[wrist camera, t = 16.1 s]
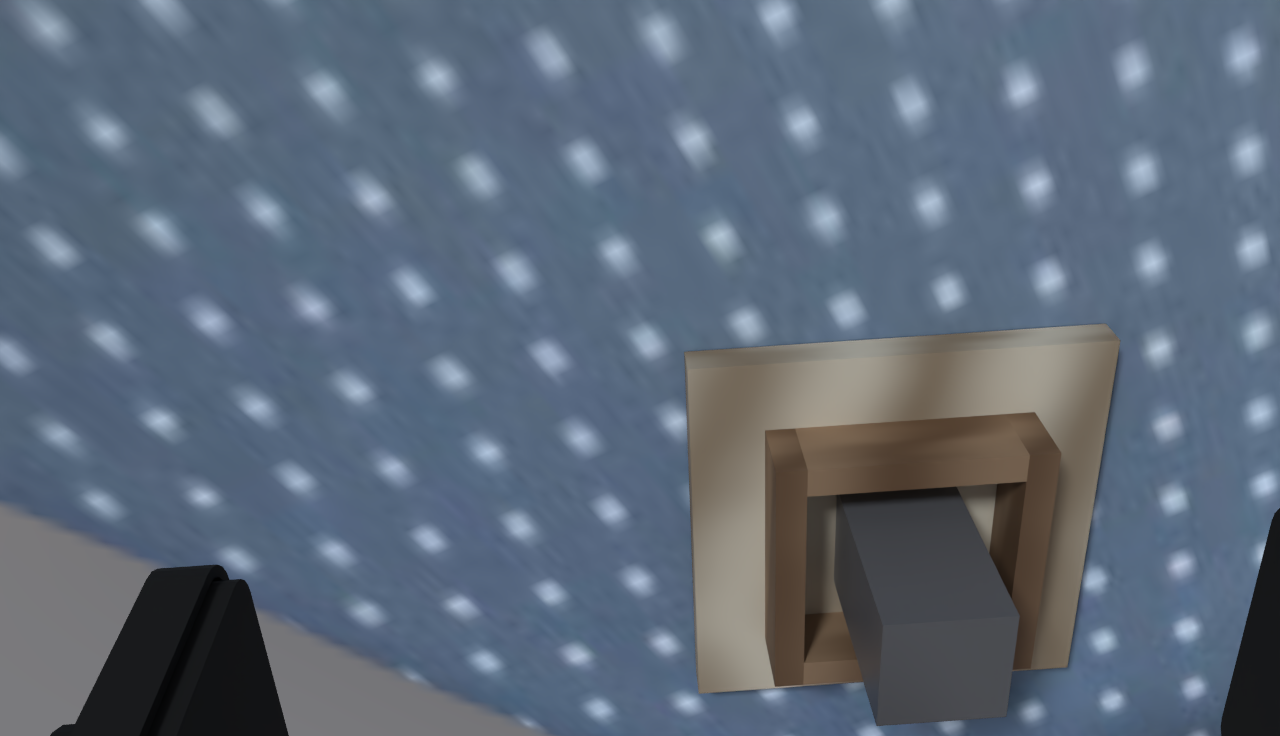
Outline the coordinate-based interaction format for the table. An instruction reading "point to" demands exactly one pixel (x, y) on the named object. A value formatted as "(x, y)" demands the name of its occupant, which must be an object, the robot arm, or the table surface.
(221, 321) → the table surface
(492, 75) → the table surface
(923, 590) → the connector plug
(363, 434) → the table surface
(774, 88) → the table surface
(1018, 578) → the end holder
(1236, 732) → the robot arm
